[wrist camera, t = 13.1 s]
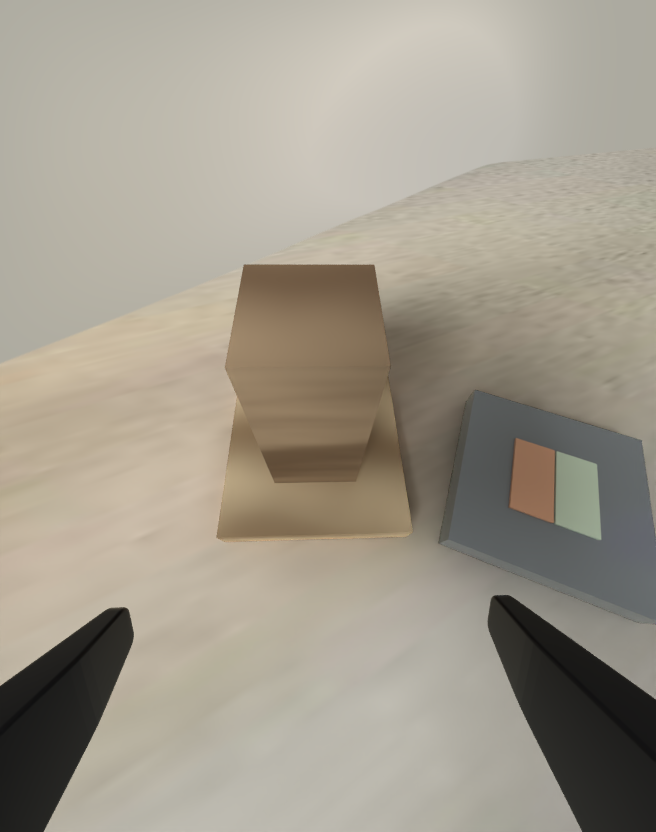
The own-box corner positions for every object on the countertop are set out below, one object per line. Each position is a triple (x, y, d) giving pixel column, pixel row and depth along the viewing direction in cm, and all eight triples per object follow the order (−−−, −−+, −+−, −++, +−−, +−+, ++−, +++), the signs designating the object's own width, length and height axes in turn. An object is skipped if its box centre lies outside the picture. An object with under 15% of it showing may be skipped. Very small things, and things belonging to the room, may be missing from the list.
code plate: (638, 622, 15) (671, 625, 14) (438, 543, 17) (449, 538, 15) (620, 450, 20) (643, 439, 18) (466, 401, 22) (476, 388, 20)
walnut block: (355, 481, 17) (390, 366, 8) (274, 483, 17) (224, 367, 8) (351, 412, 19) (374, 264, 11) (279, 412, 19) (243, 264, 11)
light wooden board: (405, 536, 17) (412, 532, 16) (224, 541, 17) (216, 537, 15) (384, 389, 22) (388, 376, 21) (244, 391, 22) (239, 378, 20)
